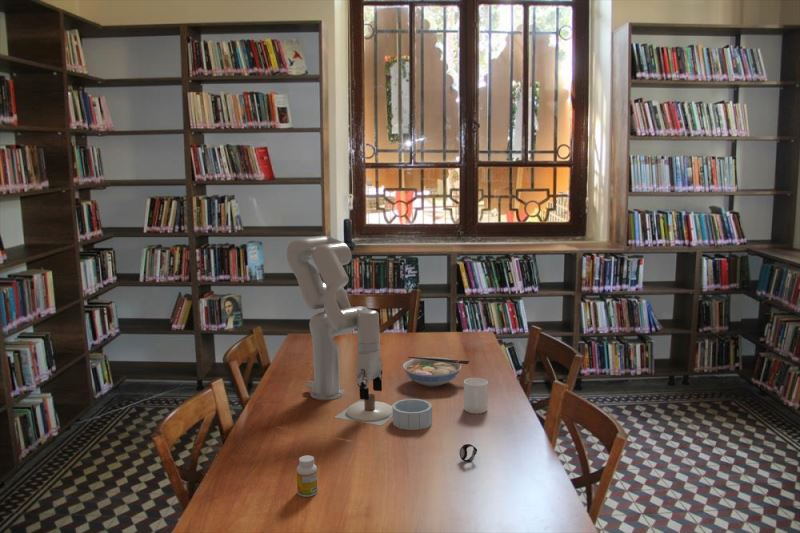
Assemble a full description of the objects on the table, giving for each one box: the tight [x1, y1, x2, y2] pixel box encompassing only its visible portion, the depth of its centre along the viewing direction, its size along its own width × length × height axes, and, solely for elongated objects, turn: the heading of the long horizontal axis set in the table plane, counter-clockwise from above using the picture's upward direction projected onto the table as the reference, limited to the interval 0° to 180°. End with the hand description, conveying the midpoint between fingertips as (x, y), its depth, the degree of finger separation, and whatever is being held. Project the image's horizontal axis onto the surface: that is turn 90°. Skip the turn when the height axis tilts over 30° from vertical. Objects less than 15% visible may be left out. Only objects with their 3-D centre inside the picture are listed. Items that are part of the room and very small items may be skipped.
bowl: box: [391, 398, 433, 431], centre depth 234 cm, size 13×13×6 cm
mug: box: [463, 377, 489, 415], centre depth 243 cm, size 12×8×10 cm
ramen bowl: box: [402, 356, 470, 388], centre depth 273 cm, size 25×23×8 cm
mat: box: [333, 399, 392, 427], centre depth 244 cm, size 18×18×1 cm
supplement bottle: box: [296, 454, 319, 498], centre depth 188 cm, size 5×5×10 cm
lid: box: [346, 393, 392, 421], centre depth 243 cm, size 16×16×6 cm
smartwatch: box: [459, 443, 478, 463], centre depth 205 cm, size 4×5×5 cm
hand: (371, 394), depth 242 cm, fingers open, 9 cm apart
